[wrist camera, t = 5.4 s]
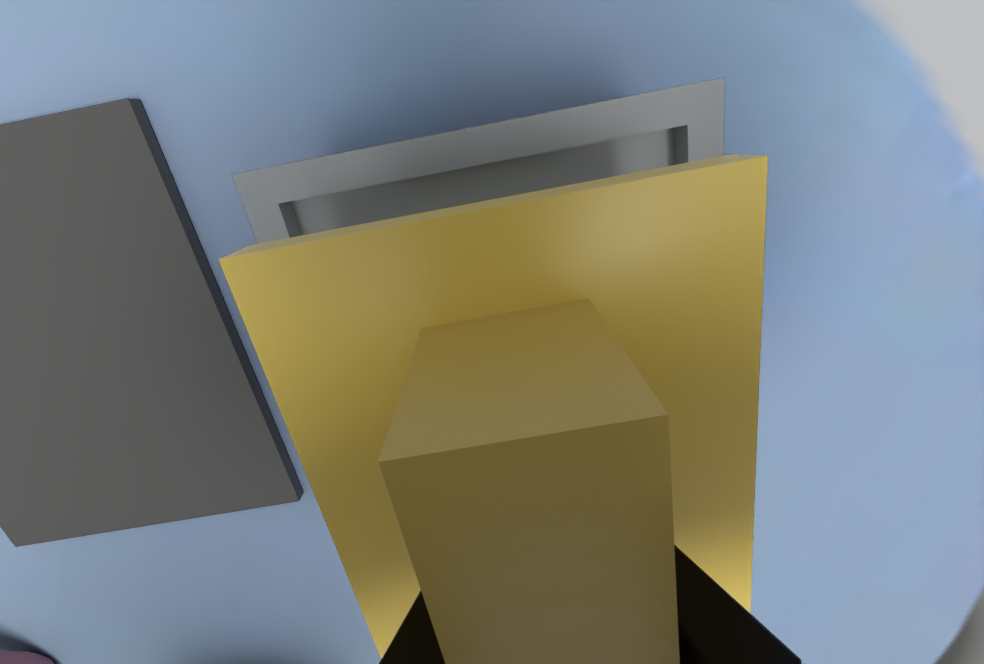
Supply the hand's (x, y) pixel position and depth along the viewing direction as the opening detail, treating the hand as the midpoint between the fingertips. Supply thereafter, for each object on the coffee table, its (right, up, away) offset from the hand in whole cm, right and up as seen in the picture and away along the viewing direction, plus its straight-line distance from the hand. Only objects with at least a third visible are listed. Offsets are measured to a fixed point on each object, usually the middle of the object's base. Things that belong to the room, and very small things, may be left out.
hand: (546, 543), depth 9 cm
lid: (0, +1, +1) cm, 2 cm away
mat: (-18, +3, +11) cm, 21 cm away
